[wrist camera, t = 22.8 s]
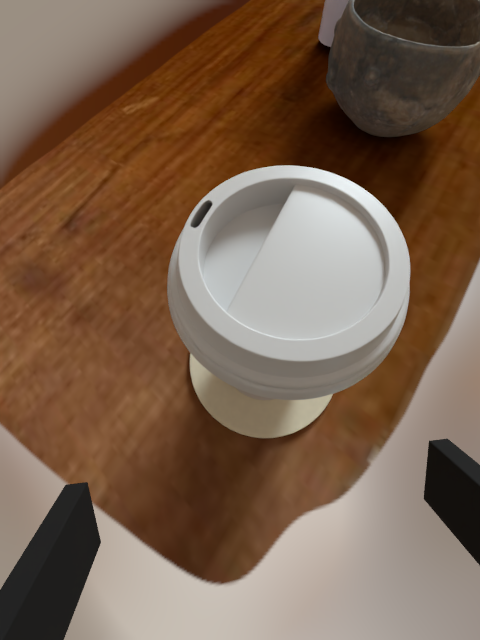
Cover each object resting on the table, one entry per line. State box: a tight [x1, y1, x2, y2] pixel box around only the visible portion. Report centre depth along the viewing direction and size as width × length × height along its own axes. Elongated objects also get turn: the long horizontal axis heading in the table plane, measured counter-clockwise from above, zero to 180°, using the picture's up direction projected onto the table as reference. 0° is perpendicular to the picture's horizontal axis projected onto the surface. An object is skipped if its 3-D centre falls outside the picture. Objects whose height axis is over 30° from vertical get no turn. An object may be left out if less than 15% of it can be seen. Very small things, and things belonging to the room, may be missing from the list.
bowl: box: [326, 0, 480, 137], centre depth 31 cm, size 14×15×10 cm
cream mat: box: [190, 353, 333, 438], centre depth 25 cm, size 12×12×1 cm
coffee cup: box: [167, 165, 410, 400], centre depth 17 cm, size 10×10×15 cm
